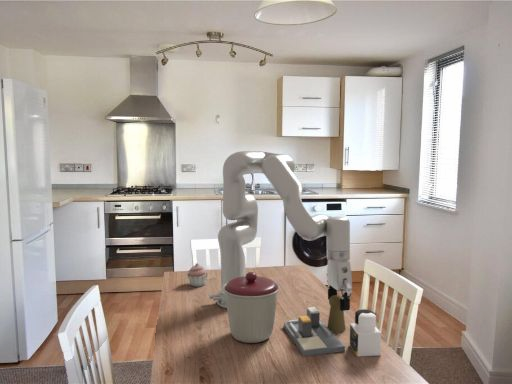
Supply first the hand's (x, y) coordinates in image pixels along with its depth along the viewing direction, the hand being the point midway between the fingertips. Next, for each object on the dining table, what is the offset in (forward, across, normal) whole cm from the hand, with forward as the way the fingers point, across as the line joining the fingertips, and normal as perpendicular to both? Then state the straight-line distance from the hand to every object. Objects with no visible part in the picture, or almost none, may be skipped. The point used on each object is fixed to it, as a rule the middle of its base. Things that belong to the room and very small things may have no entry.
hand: (338, 304), depth 135 cm
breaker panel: (+8, -4, +11) cm, 14 cm away
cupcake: (+7, +56, +43) cm, 70 cm away
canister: (+8, +2, +30) cm, 31 cm away
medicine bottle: (+9, -15, -1) cm, 18 cm away
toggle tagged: (+6, -5, +14) cm, 16 cm away
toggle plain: (+6, +2, +9) cm, 11 cm away
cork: (+8, +1, +1) cm, 9 cm away
